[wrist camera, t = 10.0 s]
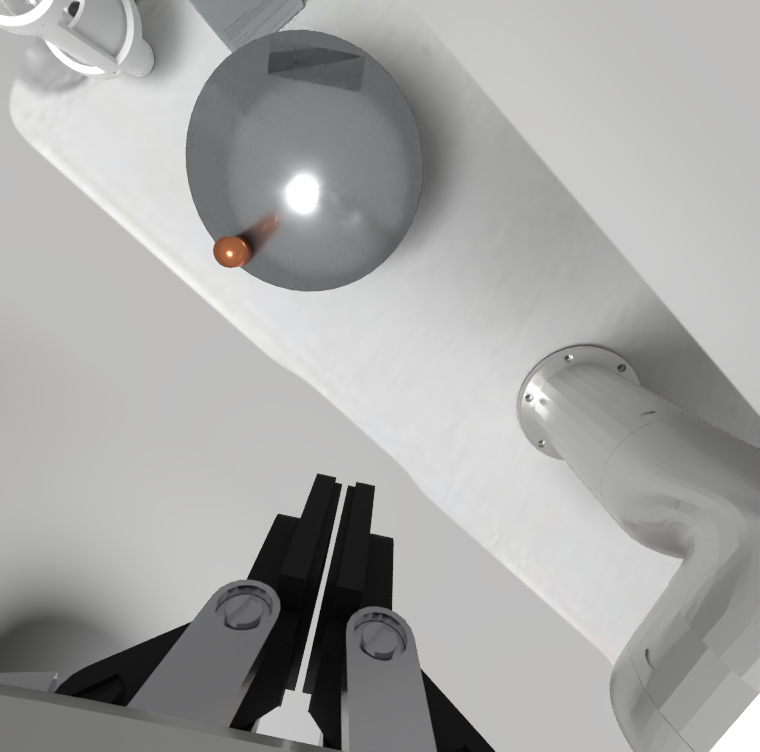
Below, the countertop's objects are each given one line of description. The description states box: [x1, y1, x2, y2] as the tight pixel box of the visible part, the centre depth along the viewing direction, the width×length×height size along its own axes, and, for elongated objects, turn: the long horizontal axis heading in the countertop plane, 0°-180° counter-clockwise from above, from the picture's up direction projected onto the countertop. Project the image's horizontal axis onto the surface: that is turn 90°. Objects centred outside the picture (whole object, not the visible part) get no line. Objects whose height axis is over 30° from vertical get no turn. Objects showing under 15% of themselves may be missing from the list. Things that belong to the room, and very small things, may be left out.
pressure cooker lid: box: [186, 30, 423, 291], centre depth 29 cm, size 16×16×4 cm
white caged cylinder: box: [0, 0, 154, 80], centre depth 30 cm, size 7×7×15 cm
